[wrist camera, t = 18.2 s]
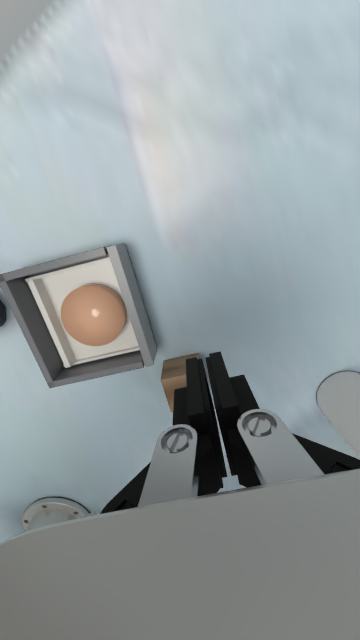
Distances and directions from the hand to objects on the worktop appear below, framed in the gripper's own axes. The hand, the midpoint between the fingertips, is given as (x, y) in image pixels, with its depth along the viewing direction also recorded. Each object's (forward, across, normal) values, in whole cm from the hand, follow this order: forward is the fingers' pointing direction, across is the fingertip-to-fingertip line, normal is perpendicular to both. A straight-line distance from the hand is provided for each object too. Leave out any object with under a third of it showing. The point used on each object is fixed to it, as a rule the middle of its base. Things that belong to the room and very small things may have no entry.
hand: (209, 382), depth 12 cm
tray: (+22, +14, 0) cm, 26 cm away
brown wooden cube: (+22, +4, +12) cm, 25 cm away
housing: (+22, +14, 0) cm, 26 cm away
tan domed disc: (+20, +12, 0) cm, 24 cm away
